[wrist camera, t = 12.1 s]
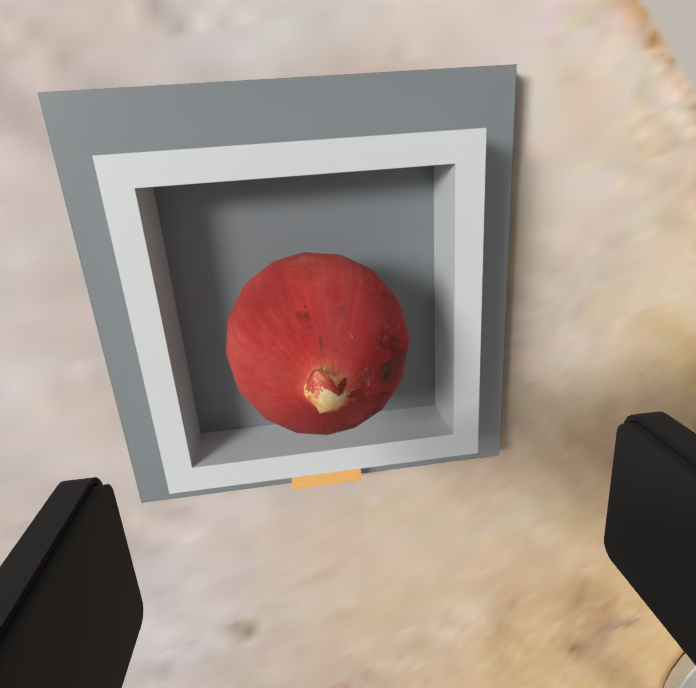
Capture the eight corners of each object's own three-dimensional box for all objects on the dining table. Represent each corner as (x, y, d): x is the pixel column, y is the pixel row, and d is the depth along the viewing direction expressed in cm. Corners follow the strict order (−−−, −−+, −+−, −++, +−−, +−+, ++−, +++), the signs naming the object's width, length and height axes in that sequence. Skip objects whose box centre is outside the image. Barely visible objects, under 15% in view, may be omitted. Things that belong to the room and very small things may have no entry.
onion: (392, 243, 20) (467, 299, 13) (371, 381, 22) (426, 499, 15) (237, 227, 19) (220, 278, 12) (229, 373, 21) (210, 497, 14)
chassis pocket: (504, 68, 19) (551, 52, 16) (491, 443, 25) (523, 487, 22) (50, 95, 18) (-1, 84, 14) (146, 488, 24) (126, 543, 20)
